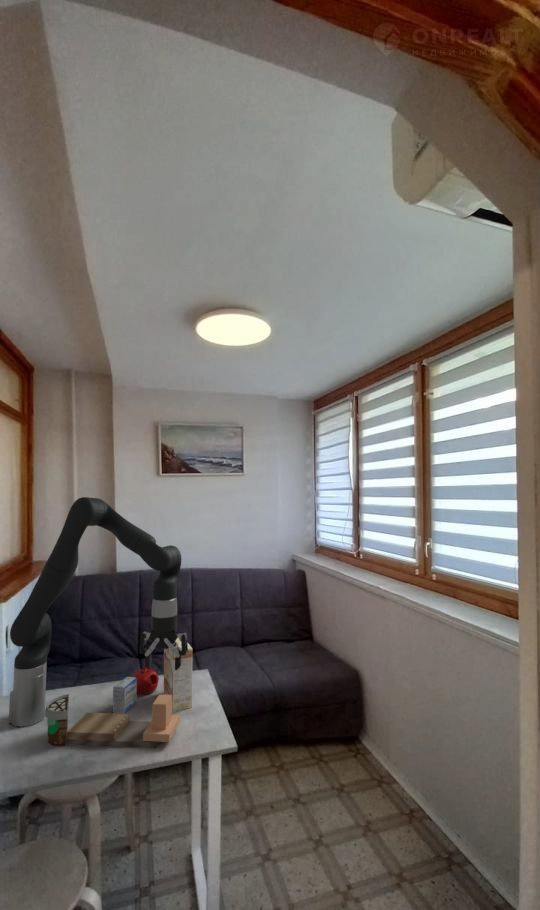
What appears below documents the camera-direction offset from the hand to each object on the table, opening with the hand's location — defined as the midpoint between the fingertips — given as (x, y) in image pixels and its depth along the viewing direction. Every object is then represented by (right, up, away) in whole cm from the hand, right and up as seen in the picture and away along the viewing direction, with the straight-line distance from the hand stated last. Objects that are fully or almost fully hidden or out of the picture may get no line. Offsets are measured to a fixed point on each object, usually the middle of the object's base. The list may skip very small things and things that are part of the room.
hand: (163, 668), depth 128 cm
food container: (-31, -20, -2) cm, 37 cm away
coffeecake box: (0, -22, +21) cm, 30 cm away
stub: (0, -18, -2) cm, 18 cm away
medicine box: (-17, -21, +16) cm, 31 cm away
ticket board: (-13, -20, -1) cm, 24 cm away
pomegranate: (-14, -23, +28) cm, 39 cm away
